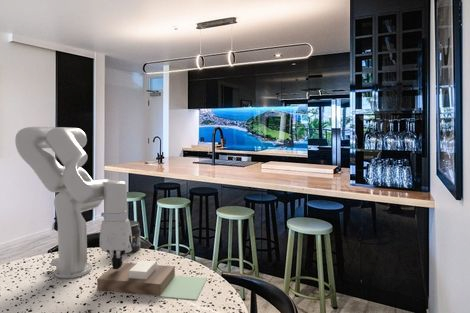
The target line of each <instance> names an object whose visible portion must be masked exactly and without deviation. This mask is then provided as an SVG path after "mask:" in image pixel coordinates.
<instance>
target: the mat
mask: <svg viewBox="0 0 470 313" xmlns="http://www.w3.org/2000/svg"><path fill="white" fill-rule="evenodd" d="M207 280H208V278H207V277H196V276H185V275H175V276H174V278H173V279H172V281H171V282H170V283H169V285H168V286H167V287H166V289H165V290H164V291H163V293H162V294H161V295H160V296H159V297H160V298H168V299H178V300H179V299H180V300H191V301H197V299H198V298H199V295H200V294H201V291H202V289H203V288H204V285H205V284H206V282H207Z"/></svg>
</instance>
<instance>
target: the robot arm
mask: <svg viewBox="0 0 470 313" xmlns="http://www.w3.org/2000/svg"><path fill="white" fill-rule="evenodd" d="M14 140H15V141H14V142H15V147H16V150H17V153H18V155H19V156H20V157H21V158H22V160H23V161H24V162H25V163H26V164H27V165H28V166H29V167H30V168H31V169H32V170H33V172H34V173H35V175H36V176H37V177H38V179H39V180H40V182H41V183H42V184H43V186H44V187H45V189H47V190H48V191H49V192H51V193H57V194H56V195H55V197H54V198H53V199H54V200H53V205H54V210H55V214H56V219H57V220H56V222H57V237H58V238H57V242H58V246H57V247H58V258H52V259H51V262H50V264H49V266H51V267H55V270H54V272H53V273H54V277H55V278H58V279H74V278H78V277H82V276H85V275H87V274H88V273H90V272H91V271H92V270H93V268H92V267H93V265H92V264H91V262H90V263H89V262H88V243H87V242H88V237H87V236H88V234H87V230H88V229H87V228H88V227H87V222H86V220H85V218H84V217H83V214H82V213H83V212H86V211H89V210H94V209H95V208H98V207H100V206H101V204H102V202H103V212H101V214H100V216H101V217H103V220H102V221H101V225H100V229H99V248H100V249H101V252H105V253H107V254H108V255H109V257H110V258H111V266H112V267H113V269H119V268H120V267H121V266H122V263H123V256H124V254H129V253H128V252H131V251H132V248H131V245H132V232H131V226H130V222H129V221H130V219H129V218H128V193H127V192H128V191H127V190H128V188H127V182H125V181H124V180H113V179H109V178H100V179H99V178H98V179H92V177H91V176H90V175H89V173H88V172H87V171H86V170H85V169H84V168H83V167H82V166H84V165H85V164H86V163H87V161H88V154H87V153H86V151H85V150H84V149H83V148H84V147H85V146H86V145H87V142H88V138H87V134H86V133H85V132H84V131H83V130H82V129H81V128H78V127H64V126H63V127H62V126H61V127H59V126H57V127H55V126H54V127H53V126H50V127H49V126H29V127H23V128H21V129H20V130H18V131H17V133H16V134H15V138H14ZM44 149H50V150H52V152H54V154H55V155H56V157H57V158H58V160H59V161H60V162H61V164H62V165H61V164H60V162H58V160H57V159H56V157H55V156H54V155H52V154H51V153H49V152H47V151H46V150H44Z"/></svg>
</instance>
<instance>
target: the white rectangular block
mask: <svg viewBox="0 0 470 313" xmlns="http://www.w3.org/2000/svg"><path fill="white" fill-rule="evenodd" d="M135 264H136V265H135V266H134V267H133V268H131V269H130V270H129V278H136V279H147V278H148V277H149V276H150V275H151V273H152V272H153V271H154V270H155V269H156V265H157V261H156V260H143V259H142V260H141V259H140V260H139V261H138V262H137V263H135Z"/></svg>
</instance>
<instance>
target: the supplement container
mask: <svg viewBox="0 0 470 313" xmlns="http://www.w3.org/2000/svg"><path fill="white" fill-rule="evenodd" d="M129 222H130V226H131V232H132V245H131V248H132V251H131V252H128V253H127V254H132V253H136V252H137V251H139V250H140V249H141V246H142V245H141V228H140V222H138V221H136V220H129Z"/></svg>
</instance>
